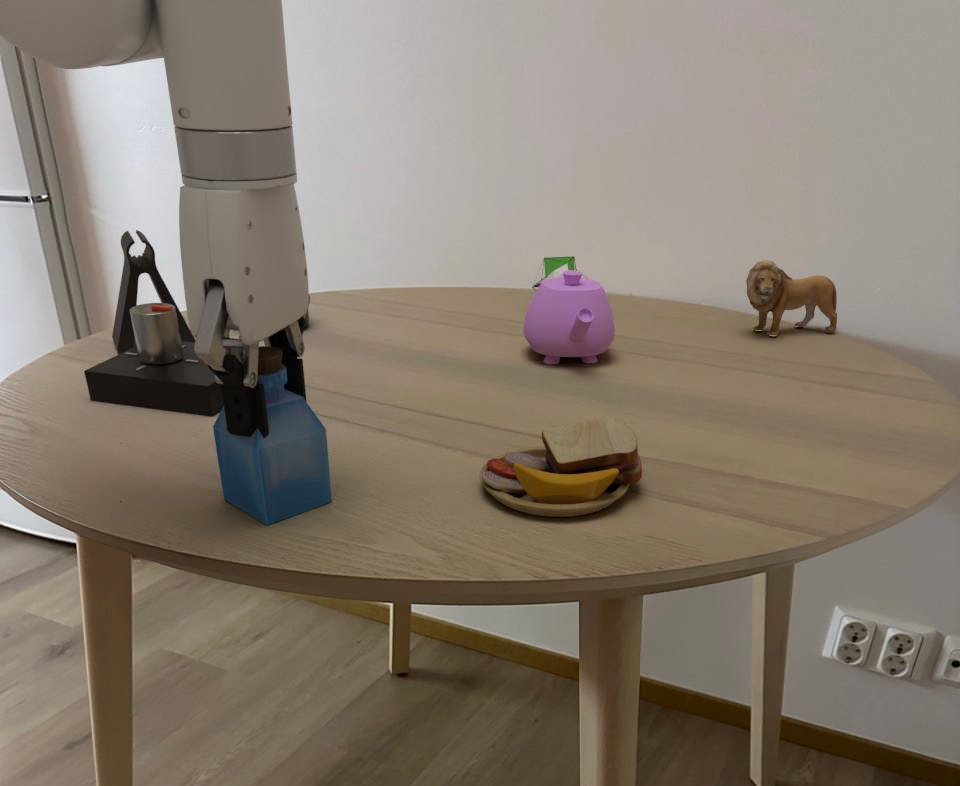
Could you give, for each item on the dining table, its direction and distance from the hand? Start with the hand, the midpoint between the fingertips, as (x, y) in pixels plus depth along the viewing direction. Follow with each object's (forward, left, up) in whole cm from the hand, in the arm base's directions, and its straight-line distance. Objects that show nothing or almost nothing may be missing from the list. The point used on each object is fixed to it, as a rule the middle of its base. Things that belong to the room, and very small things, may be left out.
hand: (268, 418), depth 71 cm
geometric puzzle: (+8, +66, -7) cm, 67 cm away
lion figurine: (+38, +64, -7) cm, 75 cm away
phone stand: (-34, +34, -7) cm, 49 cm away
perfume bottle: (0, 0, -7) cm, 7 cm away
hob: (-22, +21, -7) cm, 31 cm away
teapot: (+14, +45, -7) cm, 48 cm away
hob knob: (-24, +21, -4) cm, 32 cm away
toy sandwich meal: (+21, +10, -7) cm, 24 cm away
